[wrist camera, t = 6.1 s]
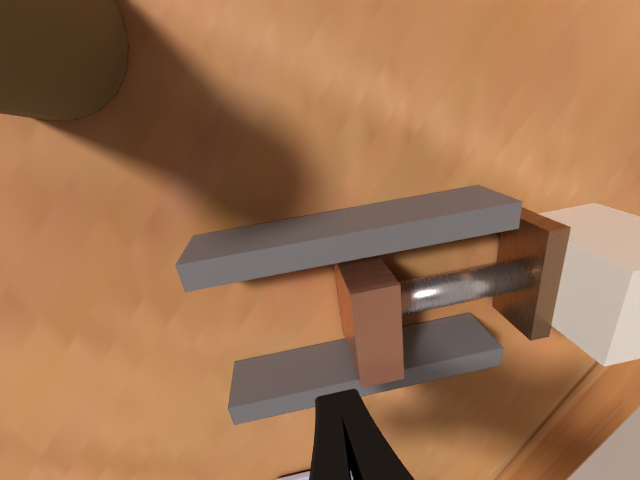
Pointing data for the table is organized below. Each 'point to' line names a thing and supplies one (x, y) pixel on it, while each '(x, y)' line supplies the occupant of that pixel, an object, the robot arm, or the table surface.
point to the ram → (450, 294)
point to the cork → (60, 57)
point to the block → (600, 282)
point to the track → (339, 246)
